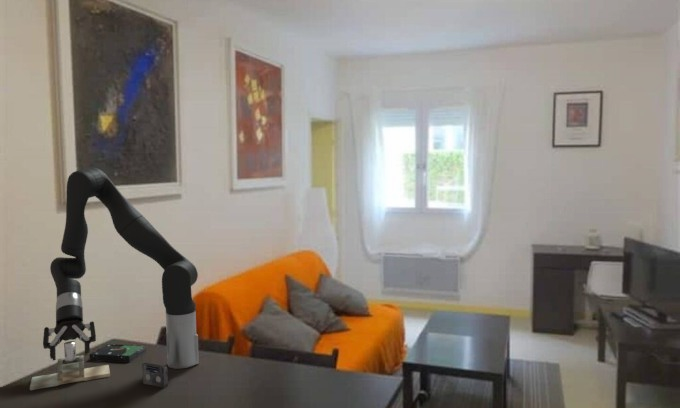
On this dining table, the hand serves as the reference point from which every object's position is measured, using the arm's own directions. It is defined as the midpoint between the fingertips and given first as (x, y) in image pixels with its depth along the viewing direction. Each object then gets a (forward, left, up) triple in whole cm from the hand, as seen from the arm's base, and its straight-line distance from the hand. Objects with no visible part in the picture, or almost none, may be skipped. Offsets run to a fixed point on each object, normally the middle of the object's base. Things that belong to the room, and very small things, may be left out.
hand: (70, 356), depth 154 cm
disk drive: (-14, -16, -8) cm, 22 cm away
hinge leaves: (0, -1, -7) cm, 7 cm away
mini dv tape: (-22, +16, -7) cm, 28 cm away
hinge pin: (0, -1, -6) cm, 6 cm away
